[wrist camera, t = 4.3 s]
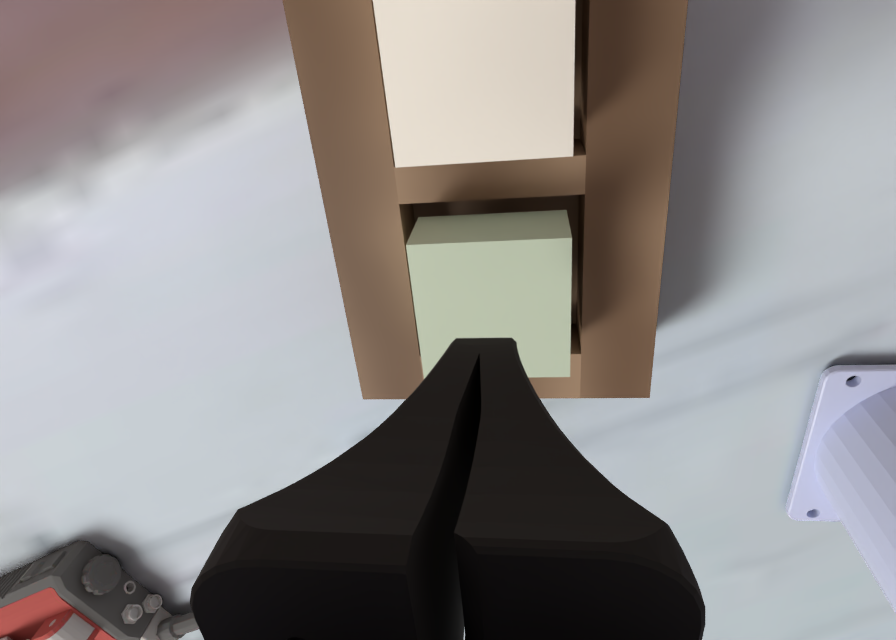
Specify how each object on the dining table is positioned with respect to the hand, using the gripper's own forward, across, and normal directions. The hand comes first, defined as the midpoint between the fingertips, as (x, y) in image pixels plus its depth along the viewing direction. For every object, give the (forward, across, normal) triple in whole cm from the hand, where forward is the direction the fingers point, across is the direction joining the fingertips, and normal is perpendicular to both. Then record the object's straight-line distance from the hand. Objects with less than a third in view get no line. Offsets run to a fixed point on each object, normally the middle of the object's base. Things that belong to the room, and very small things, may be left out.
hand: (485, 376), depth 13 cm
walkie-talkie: (+10, +24, +22) cm, 35 cm away
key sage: (+6, 0, +1) cm, 6 cm away
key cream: (+6, 0, -6) cm, 8 cm away
